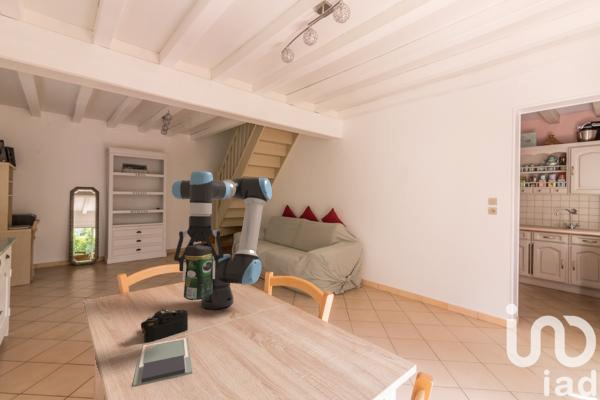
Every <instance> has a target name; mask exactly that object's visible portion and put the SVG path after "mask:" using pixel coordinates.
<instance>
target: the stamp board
mask: <svg viewBox="0 0 600 400" xmlns="http://www.w3.org/2000/svg"><path fill="white" fill-rule="evenodd" d="M189 343H190V342H189V338H188V337H183V338H178V339H177V338H176V339H172V340H171V339H170V340H167V341H160V342H159V341H158V342H155V343H150V344H149V343H147V344H145V345H142V349H141V354H139V355H138V356H137V357H138V358H137V362H136V368H135V373H134V378H133V382H132V387H136V386H137V387H138V386H141V385H146V384H150V383H155V382H160V381H164V380H168V379H173V378H178V377H182V376H187V375H191V374H193V365H192V360H191V359H192V357H191V351H190V344H189ZM151 346H152V347H151ZM146 347H150V348H149V349H147V350H146ZM182 355H184V358H185V361H186V371H187V373H184V374H179V375H175V376H171V377H166V378H162V379H158V380H153V381H149V382H145V383H140V378H141V372H142V367H143V366H144V363H148V362H153V361H158V360H162V359H167V358H172V357H177V356H182Z"/></svg>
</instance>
